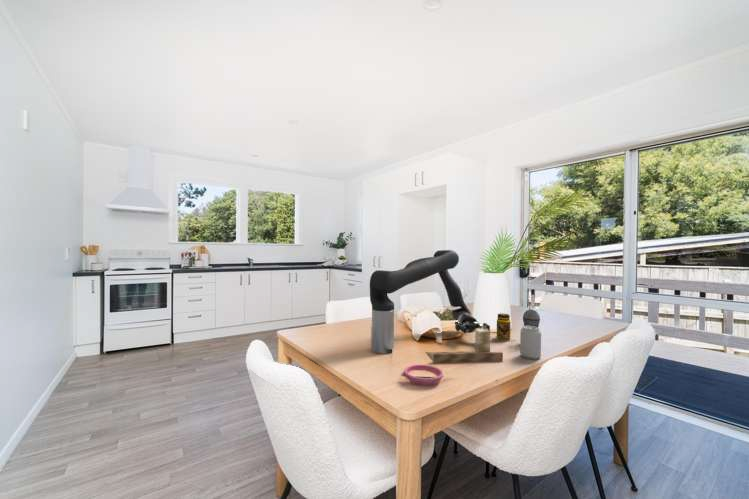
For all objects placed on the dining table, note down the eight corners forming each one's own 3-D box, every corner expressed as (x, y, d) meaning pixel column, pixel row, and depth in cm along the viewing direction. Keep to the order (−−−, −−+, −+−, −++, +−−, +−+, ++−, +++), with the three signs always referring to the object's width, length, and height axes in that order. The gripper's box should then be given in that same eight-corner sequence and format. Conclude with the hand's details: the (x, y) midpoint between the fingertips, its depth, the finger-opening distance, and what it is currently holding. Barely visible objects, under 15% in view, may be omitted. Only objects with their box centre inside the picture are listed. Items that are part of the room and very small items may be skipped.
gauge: (479, 359, 122) (480, 332, 122) (475, 353, 128) (475, 328, 128) (491, 360, 121) (492, 333, 121) (486, 354, 128) (486, 328, 128)
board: (434, 367, 117) (434, 354, 117) (425, 356, 129) (425, 344, 129) (502, 365, 120) (502, 352, 120) (487, 354, 132) (487, 343, 132)
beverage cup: (542, 346, 145) (543, 301, 145) (526, 346, 145) (527, 301, 145) (535, 341, 152) (535, 298, 152) (519, 341, 152) (520, 298, 152)
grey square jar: (544, 360, 126) (545, 329, 126) (525, 359, 127) (525, 329, 127) (535, 354, 134) (535, 324, 134) (517, 353, 134) (517, 324, 134)
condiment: (503, 342, 151) (503, 316, 151) (489, 337, 159) (490, 312, 159) (514, 340, 154) (515, 315, 154) (501, 336, 162) (501, 311, 162)
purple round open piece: (396, 380, 105) (396, 371, 105) (417, 370, 114) (417, 361, 114) (430, 392, 97) (430, 382, 97) (449, 380, 106) (450, 370, 106)
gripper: (452, 314, 153) (458, 321, 137) (482, 314, 152) (493, 322, 136) (451, 330, 153) (458, 339, 137) (482, 330, 152) (493, 340, 136)
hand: (476, 331), depth 137 cm, fingers open, 8 cm apart
